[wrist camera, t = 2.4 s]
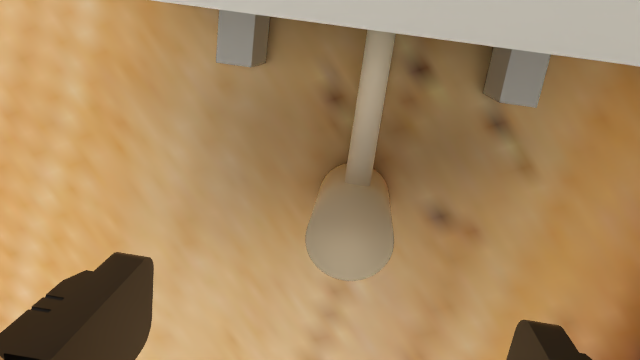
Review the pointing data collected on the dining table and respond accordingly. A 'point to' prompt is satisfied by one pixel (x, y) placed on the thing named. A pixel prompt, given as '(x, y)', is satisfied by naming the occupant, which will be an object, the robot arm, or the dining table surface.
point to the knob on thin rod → (357, 184)
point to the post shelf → (453, 31)
